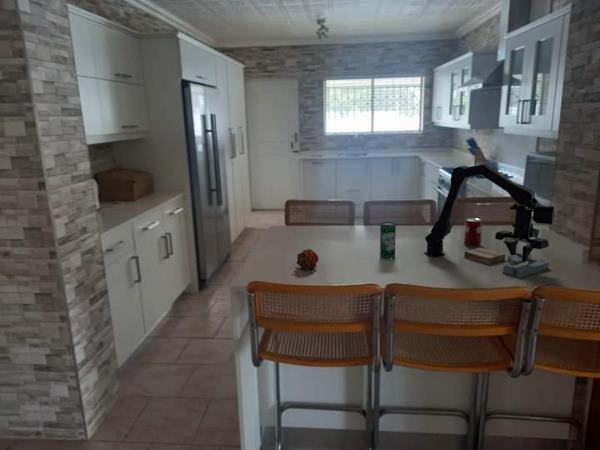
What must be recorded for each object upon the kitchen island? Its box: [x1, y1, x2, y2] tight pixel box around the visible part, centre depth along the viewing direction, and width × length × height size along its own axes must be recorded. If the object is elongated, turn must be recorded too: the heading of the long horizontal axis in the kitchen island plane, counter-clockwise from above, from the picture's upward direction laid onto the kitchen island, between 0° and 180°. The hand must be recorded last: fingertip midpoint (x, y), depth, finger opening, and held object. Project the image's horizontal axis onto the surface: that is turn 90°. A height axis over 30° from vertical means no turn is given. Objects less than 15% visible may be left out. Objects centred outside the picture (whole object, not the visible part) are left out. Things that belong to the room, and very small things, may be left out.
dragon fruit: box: [296, 248, 319, 270], centre depth 181 cm, size 8×8×12 cm
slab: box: [463, 247, 506, 265], centre depth 187 cm, size 10×12×3 cm
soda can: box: [463, 217, 483, 248], centre depth 205 cm, size 7×7×12 cm
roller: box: [507, 251, 532, 267], centre depth 173 cm, size 9×4×4 cm, turn 122°
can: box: [379, 221, 397, 260], centre depth 190 cm, size 6×6×15 cm
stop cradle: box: [502, 257, 550, 279], centre depth 171 cm, size 18×7×2 cm, turn 122°
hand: (519, 260), depth 173 cm, fingers closed on roller, 4 cm apart
